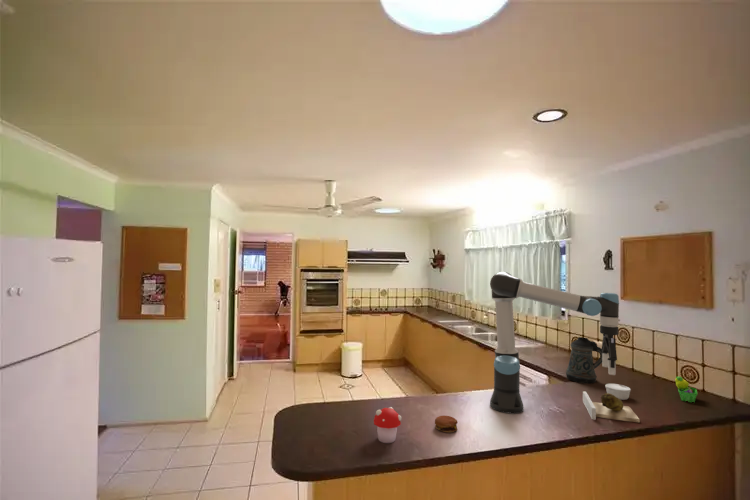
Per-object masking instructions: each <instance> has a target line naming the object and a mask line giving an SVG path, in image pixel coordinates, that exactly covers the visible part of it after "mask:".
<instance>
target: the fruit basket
mask: <svg viewBox="0 0 750 500" xmlns="http://www.w3.org/2000/svg"><path fill="white" fill-rule="evenodd" d="M674 380H675V386H676V388H677V390H678V393H679V397H680V400H681V402H682V401H683V402H686V401H688V403H692V402H694V403H695V402H696V398H697V396H698V390H697V388H695V387H690V386H689V385H690V383H689V381H687V380H685V379H684V378H683V377H682V376H676V378H675V379H674Z"/></svg>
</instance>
